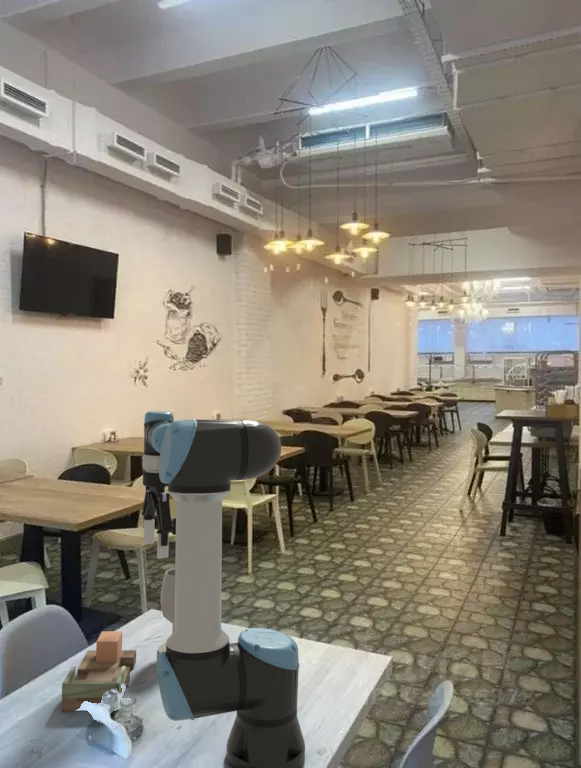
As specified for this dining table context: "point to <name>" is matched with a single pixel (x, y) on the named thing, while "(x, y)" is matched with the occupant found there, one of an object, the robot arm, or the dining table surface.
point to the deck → (95, 679)
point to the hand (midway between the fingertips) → (155, 550)
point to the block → (109, 646)
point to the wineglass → (168, 601)
